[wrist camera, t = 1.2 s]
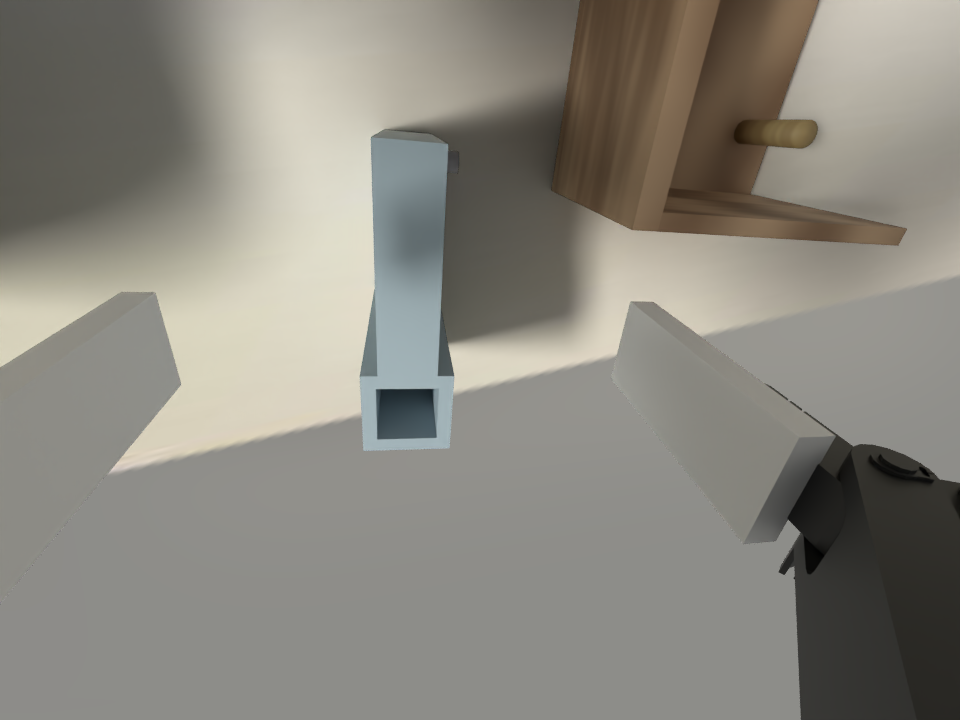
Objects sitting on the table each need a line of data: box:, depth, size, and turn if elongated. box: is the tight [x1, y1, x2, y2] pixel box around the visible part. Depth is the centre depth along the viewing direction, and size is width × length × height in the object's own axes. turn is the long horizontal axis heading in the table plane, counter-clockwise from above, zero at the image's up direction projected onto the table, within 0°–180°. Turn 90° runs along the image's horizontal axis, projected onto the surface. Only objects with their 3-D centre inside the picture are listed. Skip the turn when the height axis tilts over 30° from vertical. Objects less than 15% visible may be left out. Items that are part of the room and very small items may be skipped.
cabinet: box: [551, 0, 907, 245], centre depth 21 cm, size 14×19×12 cm
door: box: [360, 130, 459, 451], centre depth 25 cm, size 5×14×12 cm, turn 175°
